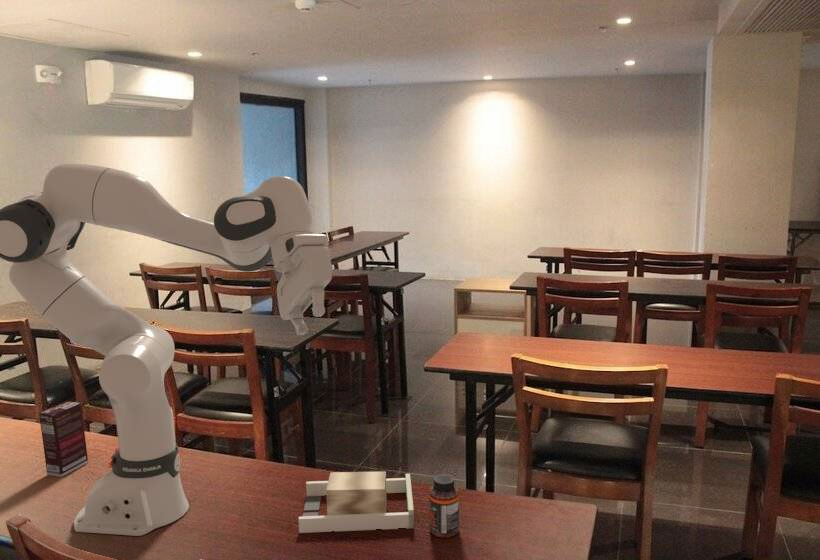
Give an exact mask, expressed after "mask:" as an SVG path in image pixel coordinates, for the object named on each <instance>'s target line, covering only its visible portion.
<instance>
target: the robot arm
mask: <svg viewBox="0 0 820 560" xmlns="http://www.w3.org/2000/svg"><path fill="white" fill-rule="evenodd" d="M43 182H44V183H43V186H42V187H43V188H42V192H38V193H35V194H31V195H28V196H25V197H23V198H21V199H19V200H18V201H16V202H13V203H11V204H8V205H5V206H4V207H1V209H0V259H2V260H4V261H6V262H11V263H12V265H11V266H10V270H9V272H8V273H9V275H8V277H9V280H10V282H11V284H12V285H13V287H14V288H15V289H16V291H17V292H18V293H19V294H20V295H21V296H22V298H23V299H24V300H25V301H26V302H27V303H28V304H29V305H30V306H31V308H33V309H34V310H35V311H36V312H37V313H38V314H40V316H42V317H43V318H44V319H45V320H46V321H47V322H49V323H50V324H51V325H52V326H54V327H55V328H56V329H57V330H58V331H59V332H60V333H61V334H63V335H64V336H65V337H66V338H68V339H69V340H70V341H71V342H72V343H73V344H75V345H76V344H77V345H79V346H83V347H86V348H89V349H92V350H93V351H95V352H96V353H98V354H101V355H102V356H104V359H103V361H102V364H101V366H100V370H99V374H98V381H99V384H100V387H101V389H102V391H103V392H104V393H105V394H106V396H107V397H108V399H109V403H110V405H111V408H112V411H113V414H114V418H115V425H116V432H117V441H118V443H117V444H118V447H117V448H116V449H115V451H114V453H113V454H112V456H111V457H110V460H109V461H108V463H107V465H108V467H107V468H108V469H110V468H112V469H111V470H110V471H109V472H107V473H106V474H105V475H104V476H103V477H101V478H100V479H99V480H98V481H97V482H95V484H94V485H93V486H92V487H91V488H90V490H89V491H88V493H87V496H86V497H85V498H86V499H85V503H84V506H83V507H82V508H81V509H80V510H79V511H78V513H77V514H76V516H75V518H74V521H73V529H74V531H75V532H77V533H88V534H89V533H90V534H105V535H119V536H120V535H121V536H135V537H140V536H144V535H146V534H148V533H150V532H152V531H153V530H155V529H158V528H161V527H164V526H167V525H169V524H171V523H173V522H175V521H177V520H179V519H180V518H182V517H183V516H184V515H186V513H187V512H188V511H189V507H190V504H189V501H188V499H187V497H186V494H185V492H184V488H183V485H182V481H181V475H180V470H181V459H180V457H181V456H180V453H179V445H178V443H177V442H176V435H175V434H176V433H175V421H174V410H173V409H172V407H171V406H170V404H169V400H168V397H167V393H166V390H165V383H164V382H165V374H166V372H167V371H168V369H169V368H170V367H171V366H172V364H173V361H174V358H175V348H176V347H175V342H174V339H173V337H172V335H171V334H170V333H169V332H168V331H167V330H165V329H164V328H161V327H159V326H157V325H153V324H151V323H149V322H148V321H146V320H145V319H143V318H142V317H140V316H138V315H137V314H135V313H133V312H132V311H130V310H128V309H127V308H126V307H124V306H122V305H121V304H119V303H118V302H116V301H115V300H114V299H113V298H112V297H110V296H109V295H108V294H107V293H106V292H104V291H103V290H102V288H100V287H99V286H98V285H96V284H95V283H94V282H93V280H91V279H90V278H88V277H87V276H86V275H85V274H84V273H83V272H81V270H79V269H78V268H77V267H76V266H74V263H72V262H71V261H70V260H69V258H68V254H67V251H70V250H73V249H74V248H75V246H76V244H77V241H78V238H79V236H80V235H81V233H82V231H83V229H84V227H85V225H86V223H88V224H92V225H96V226H99V227H100V226H101V227H104V228H110V229H114V230H119V231H123V232H127V233H132V234H137V235H140V236H144V237H147V238H151V239H155V240H159V241H161V242H164V243H168V244H171V245H175V246H178V247H181V248H185V249H189V250H192V251H195V252H199V253H203V254H207V255H210V256H213V257H216V258H217V259H218V258H219V259H220V260H222V261H224V262H225V263H226V264H228V266H230V267H232V268H233V269H236V270H237V271H241V272H245V273H246V272H248V273H249V272H255V271H259V270H260V269H263V268H264V267H265V266H266V265H267V264H269V262H271V260H272V262H273V267H274V270H275V271H276V272H277V273H280V274H281V276H280V280H279V281H278V282H277V284H276V295H277V296H276V297H277V305H278V312H279V316H280V318H281V319H282V320H283V321H288V320H289V321H291V323H292V325H293V327H294V329H295V333H296V335H297V336H305V335H306V334H307V333H308V331H309V330H308V324H307V323H305V321H304V319H303V318H304V313H305V311H306V310H307V309H308V308H309V307H310V306H311V304H312V306H311V310H312V311H311V312H312V316H313V317H315V318H318V317H322V316H323V315H325V314H326V308H325V293H326V292H325V288H326V287H327V286H328V284H329V283H330V282H331V281H332V279H333V267H332V265H333V264H332V260H331V255H330V251H329V248H328V245H329V239H328V236H327V234H323V233H322V234H320V233H319V234H318V233H317V234H316V233H315V231H314V229H313V225H312V224H313V218H312V217H313V216H312V212H311V208H310V204H309V201H308V197H307V195H306V192H305V190H304V188H303V186H302V185H301V184H300V183H299V182H298V180H296V179H293V178H292V177H288V176H281V175H280V176H279V175H278V176H271V177H269V178H266V179H265V180H264V181H262V182H261V184H260V185H259V186H258V187H257V188H255V189H253V190H252V191H250V192H248V193H245V194H244V195H242V196H234V197H232V198H229V199H227V200H225V201H224V202H222V203H221V204H220V205H219V206H218V207H217V208H216V210H215V213H214V216H213V222H211V221H208V220H204V219H201V218H200V219H199V218H197V217H193V216H191V215H187V214H185V213H183V212H182V211H180V210H178V209H177V208H175V207H174V206H173V205H172V204H170V203H169V201H167V200H166V198H164V197H163V196H162V195H161V194H160V192H159V191H158V190H157V189H156V187H154V186H153V185H152V184H151V183H150V182H149V181H148V180H146V179H145V178H144V177H141V176H138V175H136V174H134V173H131V172H128V171H125V170H121V169H116V168H111V167H106V166H100V165H93V164H85V163H83V164H82V163H60V164H58V165H56V166H54V167H53V168H51V169H50V171H48V173H47V174H46V176H45V179H44V181H43Z"/></svg>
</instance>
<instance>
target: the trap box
mask: <svg viewBox="0 0 820 560" xmlns="http://www.w3.org/2000/svg"><path fill="white" fill-rule="evenodd" d="M328 481H329V480H314V481H306V482H305V483H306V485H305V486H306V487H305V488H306V497H305V502H304V508H303V513H302V516H298V533H299V534H305V533H306V534H307V533H310V534H311V533H327V532H328V533H329V532H330V533H331V532H332V531H334V532H352V531H353V532H355V531H356V532H357V531H377V530H376V529H382V530H399V529H398V528H406V529H414V528H415V515H414V512H415V511H414V509H415V508H414V500H413V493H412V492H413V491H412V490H413V489H412V480H411V473H405V477H395V478H394V477H393V478H392V477H391V478H386V493H387V494H395V493H396V494H399V493H401V494H402V493H405V498H407V499H406V507H407V509H406V511H405V512H404V511H403V512H402V511H401V512H386V513H374V514H349V515H327V514H326V515H325V514H324V515H319V512H318V511H320V506H321V501H322V496H323V497H325V495H326V489H327V485H328ZM407 510H408V511H407Z"/></svg>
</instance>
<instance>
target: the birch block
mask: <svg viewBox="0 0 820 560" xmlns="http://www.w3.org/2000/svg"><path fill="white" fill-rule="evenodd" d="M386 479H387V471H342V472H341V471H335V472H334V471H333V472H330V474H329V477H328V480H327V481H328V485H327V489H326V515H349V514H374V513H387V502H388V501H387V499H388V497H387V495H388V493H386Z"/></svg>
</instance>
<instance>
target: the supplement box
mask: <svg viewBox="0 0 820 560" xmlns="http://www.w3.org/2000/svg"><path fill="white" fill-rule="evenodd" d="M81 403H82V402H77V401H68V400H66V401H65V402H62V403H60V404H57V405H55V406H53V407H51V408H48V409H46V410H43V411H41V412H39V413H38V415H39V416H38V417H39V421H40V423H39V424H40V431H41V437H42V438H41V439H42V445H43V453H44V461H45V462H44V463H45V468H46V474H47V476H51V477H56V478H57V477H58V478H63V477H64V476H66V475H69V474H70V473H72V472H74V471H76V470H77V469H79V468H81V467H83V466H84V465H86V464H88V463H89V458H88V451H87V450H88V449H87V442H86V441H87V440H86V435H85V426H84V419H83V410H82V404H81Z"/></svg>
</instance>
